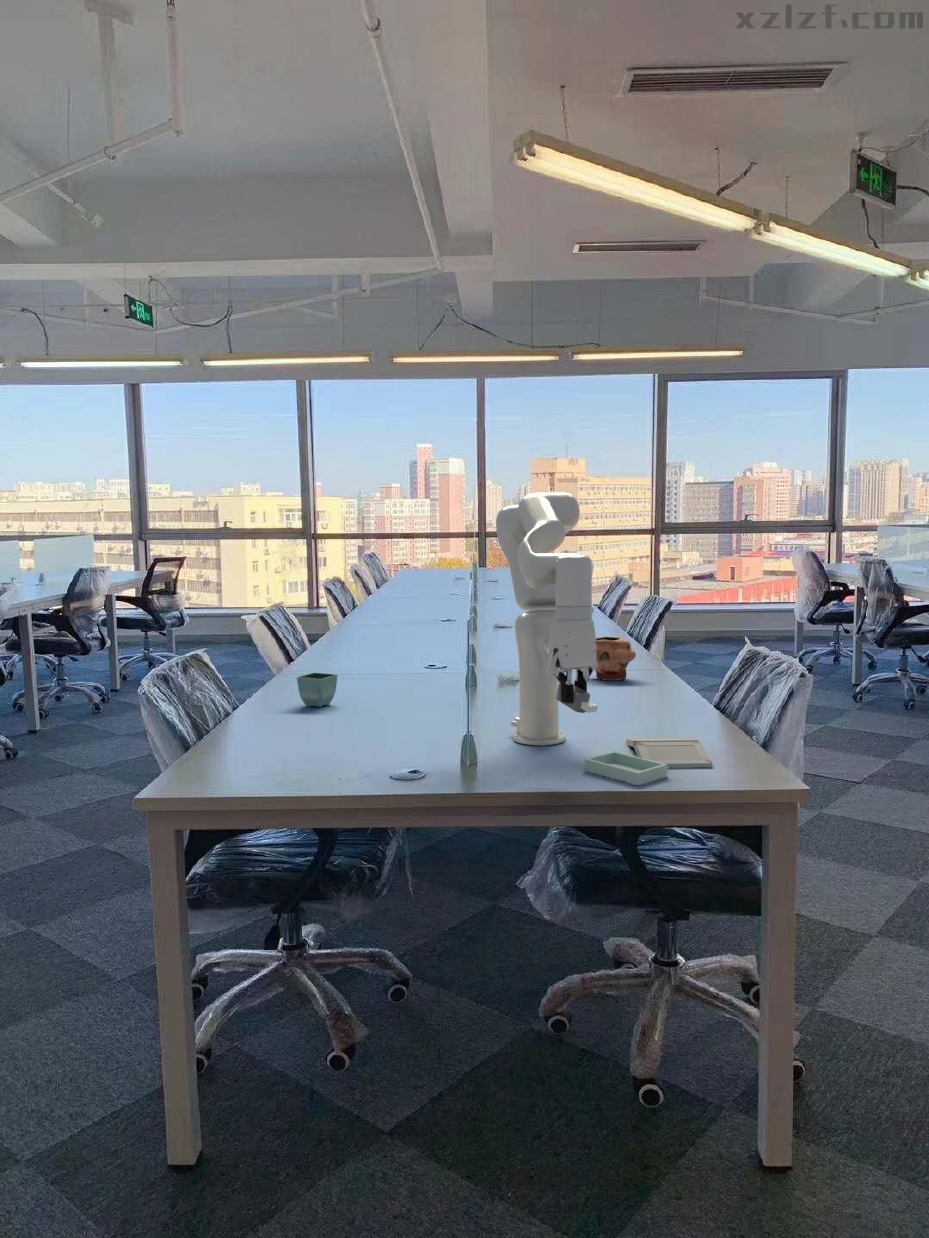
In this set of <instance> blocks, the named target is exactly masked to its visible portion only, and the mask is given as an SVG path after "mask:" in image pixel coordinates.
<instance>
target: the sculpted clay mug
mask: <svg viewBox="0 0 929 1238" xmlns="http://www.w3.org/2000/svg"><path fill="white" fill-rule="evenodd" d="M596 650H597V656H596V660H597V663H598V667H597V668H596V669H595V670H594V671H595V674H596V676H595V677H596V679H597V678H598V679H597V680H600V679H602V680H601V681H622V679H623V680H624V679H626V678H627V667H628V665H629V664H630V663H631V662H632V661H633V660H635V659H636V657H637V656H636V655H637V653H636V651H634V649H632V645H631V642H630V641H629V640H628V639H625V638H622V637H615V636H600V637H596Z"/></svg>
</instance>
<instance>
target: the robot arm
mask: <svg viewBox="0 0 929 1238" xmlns="http://www.w3.org/2000/svg"><path fill="white" fill-rule="evenodd" d="M580 512H581V511H580V505H579V501H578V500H577V498H576V497H575V496H574V495H573V494H572V493H569V492H534V493H533V492H532V493H529V494H526V495H524V496H523V497H522V498H521V499H520V501H519V502H518V504H513V505H508V506H505V507H503V508H501V509H500V510H499V511H498V512H497V515H496V520H495V527H496V528H495V529H496V535H497V536H496V537H497V541H498V543H499V546H500V548H501V550H502V553H503V555H504V556H505V559H506V560H507V563H508V565H509V571H510V576H511V582H512V588H513V593H514V598H515V601H516V604H517V606H518V607H519V608H520V609H521V610H524V611H525V612H521V613H520V614H518V616H517V618H516V620H515V622H514V633H515V641H516V645H517V653H518V683H519V684H518V685H519V686H518V687H519V688H518V690H519V691H518V692H519V694H518V695H519V697H518V698H519V704H518V706H519V707H518V708H519V711H518V712H519V716H517V717H515V719H514V720H512V721H511V722H510V725H511V726H512V727H515V728H516V732H514V733H513V734H512V736H513V737H512V739H513V740H514V742H516V743H518V744H522V745H526V746H527V745H529V746H552V745H558V744H560V743H563V742H565V740H566V734H565V733H564V732H562V731H560V729H559V728H560V725H559V724H560V719H559V717H560V714H559V712H560V711H559V708H560V707H559V703H560V701H558V700H557V699H556V696H557V691H558V686H559V683H561V701H562V702H565V703H570V704H571V703H573V692H574V686H573V684H574V685H576V686H577V687H579V688H581V689H583V690H584V691H586V692H588V682H590V677H591V675H592V673H594V671H595V669H596V668H597V667H598V663H597V660H596V656H597V650H596V638H597V636H596V629H595V623H594V619H593V615H592V614H593V613H594V608H593V604H592V603H593V599H592V598H593V594H592V593H593V592H592V590H593V589H592V587H593V586H592V584H593V581H592V578H593V577H592V575H593V574H592V572H593V571H592V570H593V569H592V568H593V567H592V560H591V559H592V558H591V557H590V556H588V555H586V554H582V553H579V552H553V551H555V550H556V549H559V547H560V546H561V545H562V544H563V542H564V540H565V538H566V534H568V533H569V532H570V531H571V530H573V529H574V528H575V527H576V525H577V524H578V522H579V519H580V515H581V514H580ZM573 670H575V679H576V680H574V683H573V684H571V683H572V679H573V677H572V676H573Z"/></svg>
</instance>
